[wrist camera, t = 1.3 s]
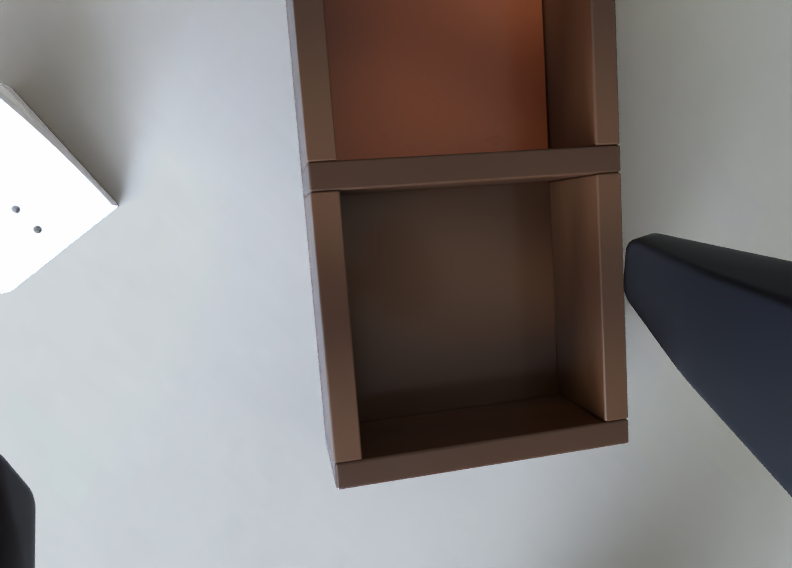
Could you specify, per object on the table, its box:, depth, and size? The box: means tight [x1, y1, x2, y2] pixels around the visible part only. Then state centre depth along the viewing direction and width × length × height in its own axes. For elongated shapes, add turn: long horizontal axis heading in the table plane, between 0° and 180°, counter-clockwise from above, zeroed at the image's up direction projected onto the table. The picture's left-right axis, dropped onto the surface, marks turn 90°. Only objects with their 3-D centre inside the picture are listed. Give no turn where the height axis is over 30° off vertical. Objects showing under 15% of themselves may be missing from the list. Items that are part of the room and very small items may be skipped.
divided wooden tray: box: [286, 0, 628, 489], centre depth 20 cm, size 20×10×4 cm, turn 4°
